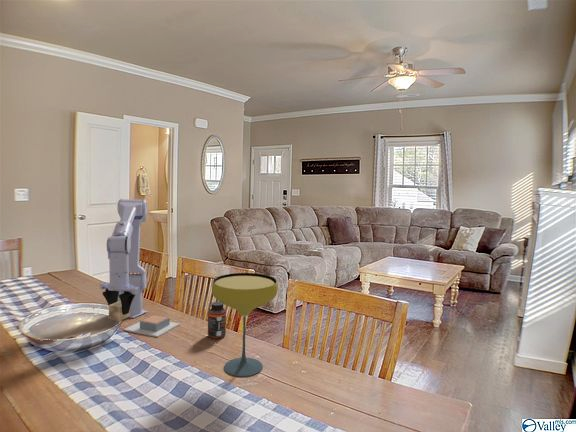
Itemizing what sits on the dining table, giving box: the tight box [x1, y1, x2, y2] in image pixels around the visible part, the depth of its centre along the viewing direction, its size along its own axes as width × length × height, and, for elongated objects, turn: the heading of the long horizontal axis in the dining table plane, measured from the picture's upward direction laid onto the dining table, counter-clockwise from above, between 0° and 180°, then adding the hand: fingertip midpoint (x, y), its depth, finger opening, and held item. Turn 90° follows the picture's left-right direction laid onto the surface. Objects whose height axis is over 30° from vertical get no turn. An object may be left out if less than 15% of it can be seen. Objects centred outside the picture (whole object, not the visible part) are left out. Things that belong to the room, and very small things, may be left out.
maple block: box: [108, 301, 130, 322], centre depth 126 cm, size 4×4×4 cm
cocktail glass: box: [211, 272, 279, 378], centre depth 107 cm, size 18×18×25 cm
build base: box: [123, 314, 181, 338], centre depth 134 cm, size 14×12×3 cm
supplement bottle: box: [207, 301, 227, 340], centre depth 128 cm, size 6×6×11 cm
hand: (119, 312), depth 126 cm, fingers closed on maple block, 4 cm apart
